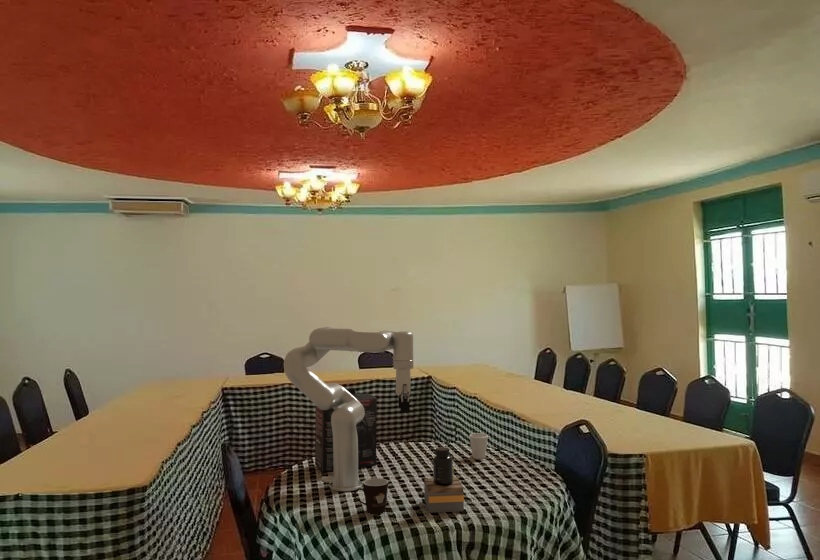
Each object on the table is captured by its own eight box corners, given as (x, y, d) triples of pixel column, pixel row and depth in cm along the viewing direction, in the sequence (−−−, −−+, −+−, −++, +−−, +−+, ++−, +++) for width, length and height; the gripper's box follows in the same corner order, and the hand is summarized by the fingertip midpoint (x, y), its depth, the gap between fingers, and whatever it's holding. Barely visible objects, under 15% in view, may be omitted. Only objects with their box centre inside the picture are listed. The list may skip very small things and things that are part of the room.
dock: (429, 513, 215) (428, 494, 215) (424, 500, 228) (424, 482, 228) (464, 511, 216) (463, 492, 216) (457, 499, 229) (457, 481, 229)
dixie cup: (491, 456, 286) (491, 434, 286) (483, 461, 279) (483, 438, 279) (474, 454, 290) (474, 432, 290) (466, 458, 283) (466, 435, 283)
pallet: (428, 493, 216) (428, 488, 216) (424, 482, 228) (424, 478, 228) (463, 491, 217) (463, 487, 217) (457, 481, 229) (457, 477, 229)
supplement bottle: (441, 478, 227) (440, 445, 227) (456, 482, 223) (456, 448, 223) (429, 483, 222) (429, 449, 222) (445, 487, 217) (444, 452, 217)
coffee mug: (388, 506, 222) (388, 478, 222) (388, 515, 213) (388, 485, 214) (355, 507, 222) (355, 478, 222) (353, 516, 213) (353, 486, 213)
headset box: (367, 458, 285) (367, 384, 285) (378, 465, 273) (377, 388, 273) (314, 465, 274) (313, 389, 275) (323, 473, 263) (322, 393, 263)
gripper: (391, 362, 248) (392, 406, 248) (395, 367, 231) (395, 415, 230) (411, 361, 248) (411, 405, 248) (415, 367, 231) (416, 414, 231)
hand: (403, 410), depth 239 cm, fingers open, 9 cm apart
